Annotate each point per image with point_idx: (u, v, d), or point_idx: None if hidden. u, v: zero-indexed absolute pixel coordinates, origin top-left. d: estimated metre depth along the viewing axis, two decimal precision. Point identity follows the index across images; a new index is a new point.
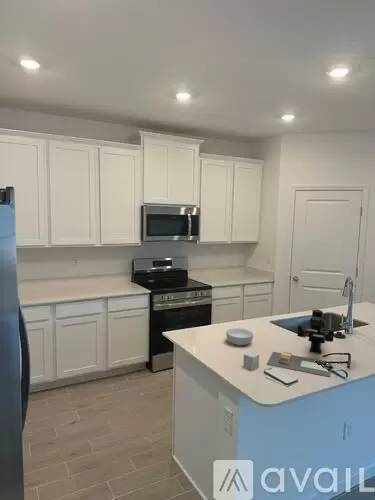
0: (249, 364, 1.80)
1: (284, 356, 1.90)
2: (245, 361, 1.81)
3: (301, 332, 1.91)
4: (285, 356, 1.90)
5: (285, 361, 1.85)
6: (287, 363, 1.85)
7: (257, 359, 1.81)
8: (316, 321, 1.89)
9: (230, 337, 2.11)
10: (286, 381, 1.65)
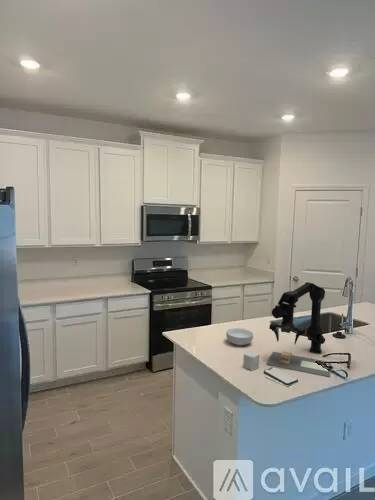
0: (249, 364, 1.80)
1: (284, 356, 1.90)
2: (245, 361, 1.81)
3: None
4: (285, 356, 1.90)
5: (285, 361, 1.85)
6: (287, 363, 1.85)
7: (257, 359, 1.81)
8: None
9: (230, 337, 2.11)
10: (287, 381, 1.65)
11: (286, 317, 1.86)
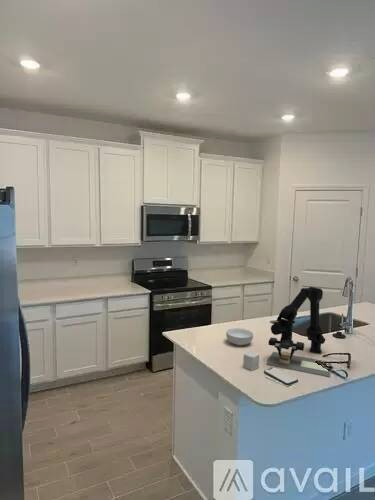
0: (249, 364, 1.80)
1: (284, 356, 1.90)
2: (245, 361, 1.81)
3: None
4: (285, 356, 1.90)
5: (285, 361, 1.85)
6: (287, 363, 1.85)
7: (257, 359, 1.81)
8: None
9: (230, 337, 2.11)
10: (287, 381, 1.65)
11: (285, 333, 1.87)
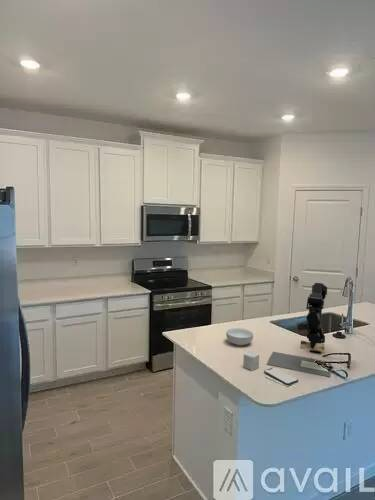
0: (249, 364, 1.80)
1: None
2: (245, 361, 1.81)
3: None
4: None
5: None
6: (300, 346, 1.85)
7: (257, 359, 1.81)
8: None
9: (230, 337, 2.11)
10: (287, 382, 1.65)
11: None
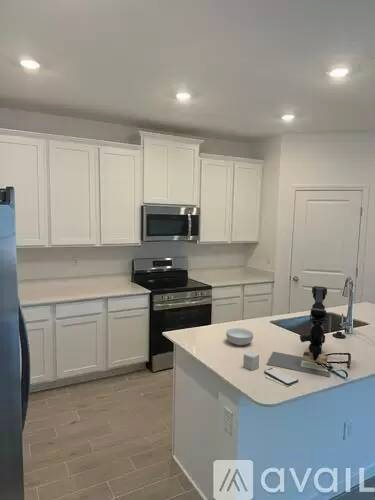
0: (249, 364, 1.80)
1: None
2: (245, 361, 1.81)
3: None
4: None
5: (303, 355, 1.86)
6: (303, 357, 1.85)
7: (257, 359, 1.81)
8: None
9: (230, 337, 2.11)
10: (287, 382, 1.65)
11: None
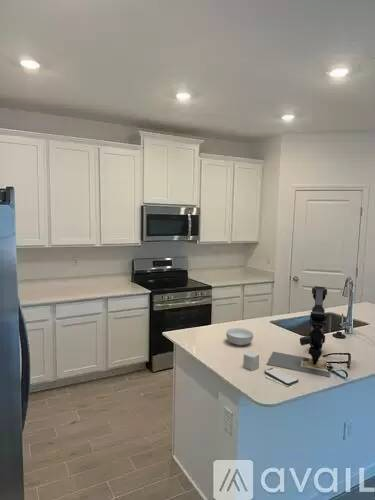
0: (249, 364, 1.80)
1: None
2: (245, 361, 1.81)
3: None
4: None
5: (303, 360, 1.87)
6: None
7: (257, 359, 1.81)
8: None
9: (230, 337, 2.11)
10: (287, 382, 1.65)
11: None
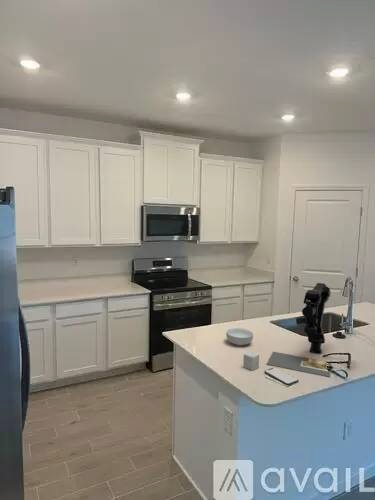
0: (249, 364, 1.80)
1: (313, 360, 1.86)
2: (245, 361, 1.81)
3: None
4: (313, 360, 1.85)
5: (303, 360, 1.87)
6: None
7: (257, 359, 1.81)
8: None
9: (230, 337, 2.11)
10: (287, 382, 1.65)
11: None
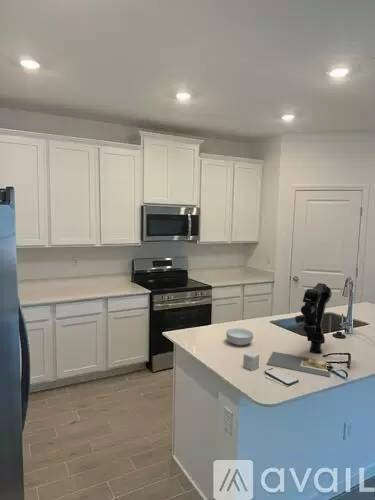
0: (249, 364, 1.80)
1: (313, 360, 1.86)
2: (245, 361, 1.81)
3: None
4: (313, 360, 1.85)
5: (303, 360, 1.87)
6: None
7: (257, 359, 1.81)
8: None
9: (230, 337, 2.11)
10: (287, 382, 1.65)
11: None
